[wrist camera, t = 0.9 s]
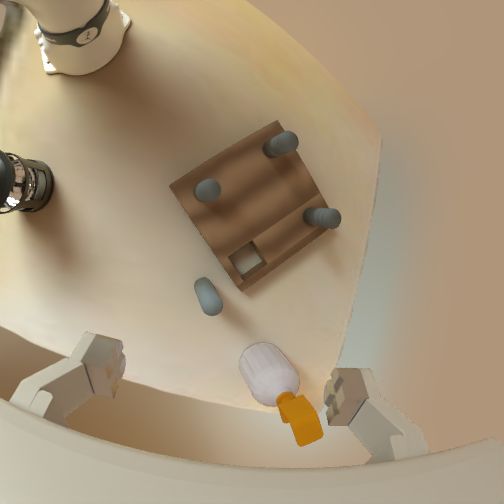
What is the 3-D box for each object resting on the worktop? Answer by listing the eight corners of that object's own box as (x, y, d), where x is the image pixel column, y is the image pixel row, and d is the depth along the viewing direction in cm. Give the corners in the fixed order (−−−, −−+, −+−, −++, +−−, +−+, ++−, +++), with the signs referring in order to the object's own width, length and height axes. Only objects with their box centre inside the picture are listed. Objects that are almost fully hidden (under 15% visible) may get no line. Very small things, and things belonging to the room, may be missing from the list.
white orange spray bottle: (245, 385, 61) (286, 465, 38) (233, 350, 59) (275, 428, 36) (284, 370, 63) (340, 441, 40) (275, 335, 61) (335, 402, 38)
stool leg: (190, 284, 55) (197, 303, 45) (205, 274, 56) (215, 290, 45) (201, 298, 56) (209, 319, 46) (215, 288, 57) (227, 307, 46)
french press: (65, 189, 46) (5, 182, 25) (32, 225, 45) (-37, 241, 24) (32, 143, 43) (-34, 114, 21) (0, 179, 42) (-73, 172, 20)
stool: (169, 186, 52) (170, 182, 41) (271, 123, 55) (295, 108, 44) (237, 287, 58) (254, 306, 47) (328, 221, 61) (360, 226, 50)
